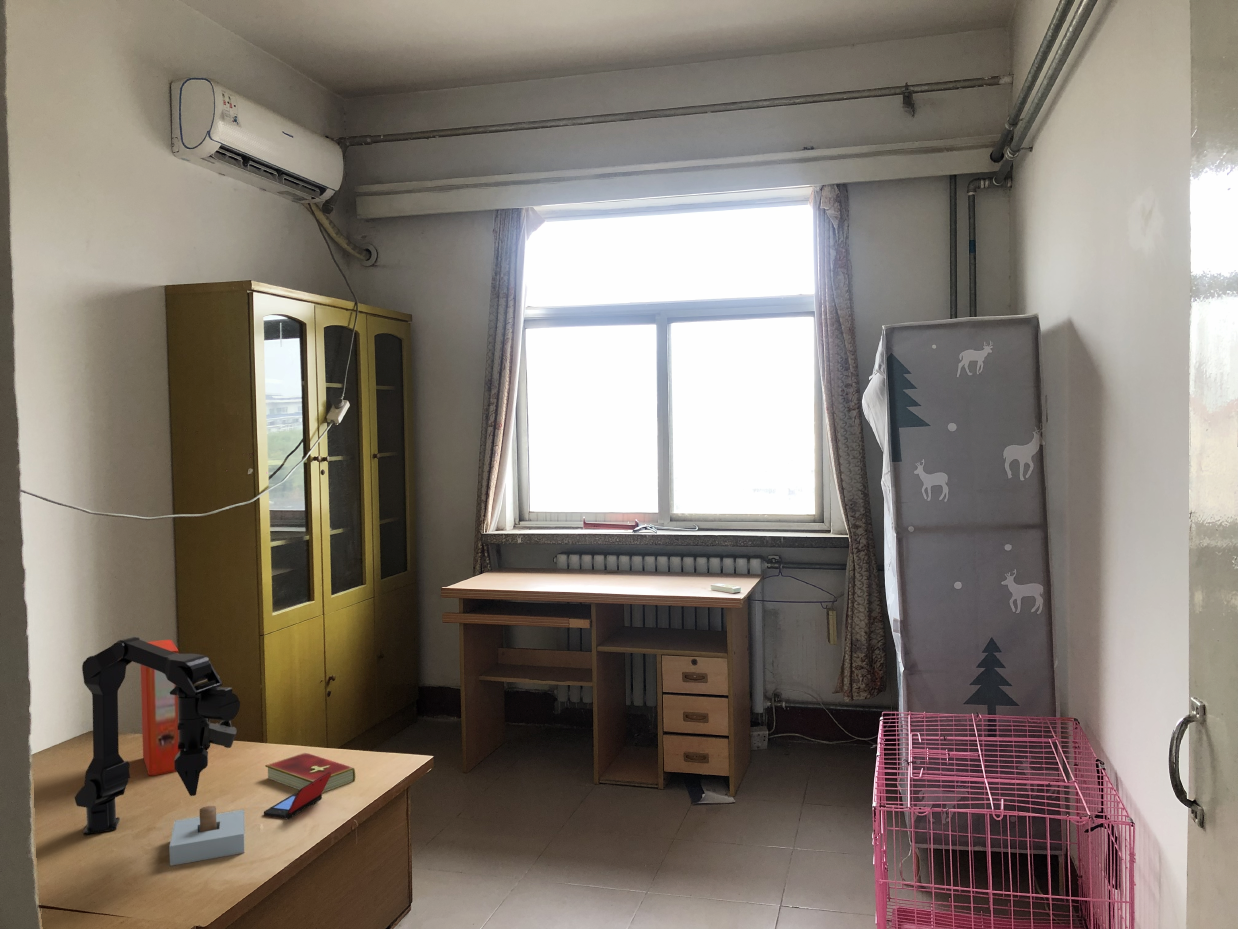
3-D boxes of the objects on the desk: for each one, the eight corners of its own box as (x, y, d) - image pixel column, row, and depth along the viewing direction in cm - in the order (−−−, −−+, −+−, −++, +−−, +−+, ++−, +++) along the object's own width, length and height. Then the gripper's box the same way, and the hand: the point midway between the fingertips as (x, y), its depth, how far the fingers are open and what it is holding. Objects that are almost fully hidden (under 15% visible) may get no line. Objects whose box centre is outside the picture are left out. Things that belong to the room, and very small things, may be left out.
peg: (201, 844, 197) (199, 807, 196) (217, 841, 198) (216, 804, 198) (200, 850, 194) (199, 812, 194) (216, 847, 195) (215, 810, 195)
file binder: (175, 752, 258) (171, 639, 257) (183, 770, 243) (178, 650, 242) (143, 758, 253) (138, 643, 253) (149, 776, 239) (144, 654, 238)
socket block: (175, 838, 200) (174, 820, 200) (244, 827, 205) (244, 809, 205) (170, 865, 187) (169, 846, 187) (244, 852, 192) (243, 833, 192)
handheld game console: (296, 796, 223) (295, 766, 223) (334, 801, 219) (333, 770, 219) (261, 817, 211) (260, 785, 211) (300, 822, 208) (299, 789, 207)
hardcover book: (307, 766, 245) (306, 751, 244) (355, 782, 232) (355, 766, 232) (265, 780, 235) (265, 764, 235) (314, 798, 222) (313, 780, 222)
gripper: (232, 724, 191) (234, 798, 191) (234, 700, 208) (235, 768, 209) (173, 730, 187) (175, 806, 187) (180, 705, 204) (181, 775, 204)
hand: (194, 787), depth 197 cm, fingers open, 9 cm apart
